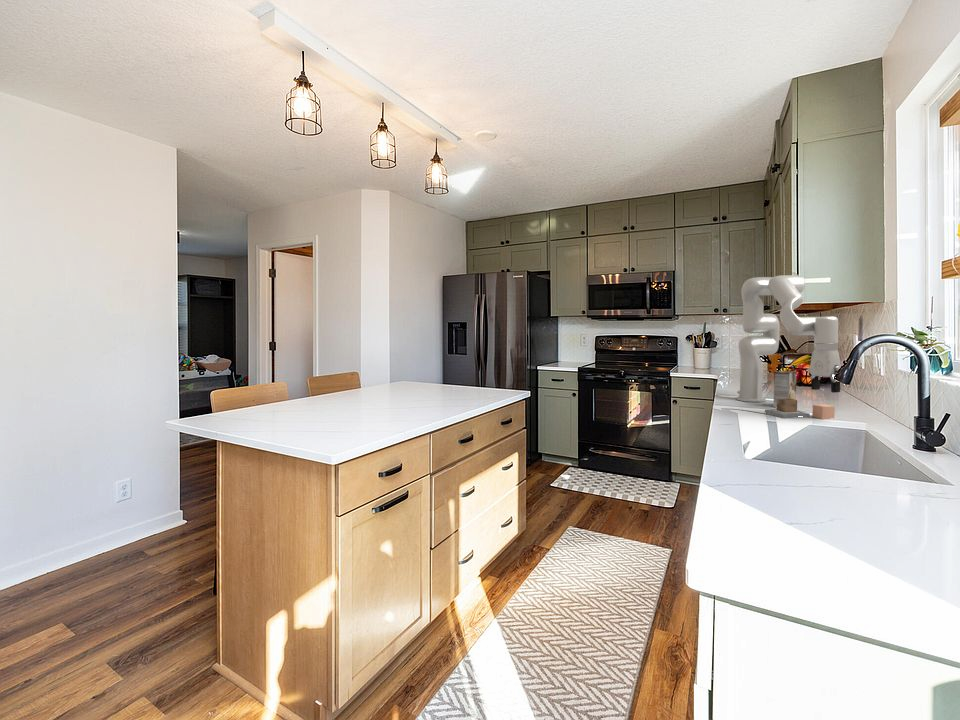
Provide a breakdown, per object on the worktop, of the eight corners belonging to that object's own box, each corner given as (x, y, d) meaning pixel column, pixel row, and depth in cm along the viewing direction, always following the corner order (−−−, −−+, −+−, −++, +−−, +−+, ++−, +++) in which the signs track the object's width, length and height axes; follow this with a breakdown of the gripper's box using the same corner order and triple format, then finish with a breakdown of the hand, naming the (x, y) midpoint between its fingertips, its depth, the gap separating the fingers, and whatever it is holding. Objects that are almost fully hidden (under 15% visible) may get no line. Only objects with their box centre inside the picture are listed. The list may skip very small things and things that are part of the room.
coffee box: (780, 404, 213) (781, 370, 212) (796, 406, 208) (797, 371, 207) (772, 407, 208) (773, 372, 206) (789, 409, 203) (790, 373, 201)
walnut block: (776, 410, 193) (776, 398, 192) (788, 409, 193) (788, 398, 192) (785, 412, 188) (785, 400, 187) (796, 412, 188) (797, 400, 187)
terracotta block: (812, 416, 186) (812, 404, 186) (824, 416, 187) (824, 404, 186) (822, 419, 181) (822, 406, 181) (834, 418, 182) (834, 406, 181)
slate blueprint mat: (764, 413, 195) (764, 409, 195) (789, 412, 196) (789, 408, 196) (783, 418, 184) (783, 414, 184) (809, 417, 185) (809, 413, 185)
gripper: (800, 347, 190) (799, 388, 191) (835, 348, 173) (834, 393, 174) (817, 347, 191) (816, 388, 191) (854, 348, 173) (853, 393, 174)
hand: (825, 390), depth 183 cm, fingers open, 9 cm apart
